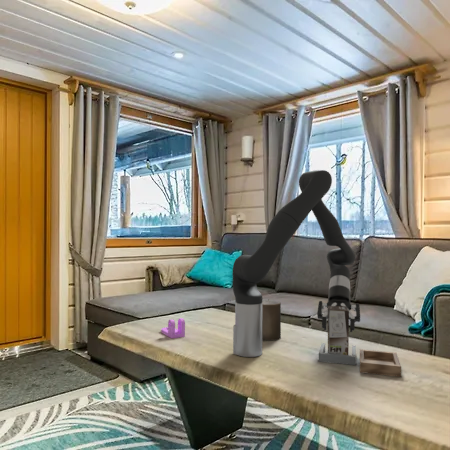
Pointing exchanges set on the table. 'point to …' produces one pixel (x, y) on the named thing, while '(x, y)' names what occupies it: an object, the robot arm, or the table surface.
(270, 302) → the pillar candle
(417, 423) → the table surface
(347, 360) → the bay
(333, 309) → the coffee box
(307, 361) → the table surface
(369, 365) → the tray
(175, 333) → the bracket
